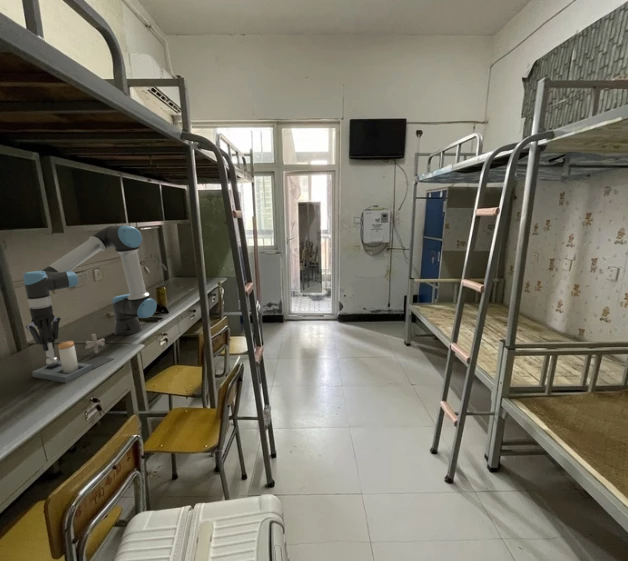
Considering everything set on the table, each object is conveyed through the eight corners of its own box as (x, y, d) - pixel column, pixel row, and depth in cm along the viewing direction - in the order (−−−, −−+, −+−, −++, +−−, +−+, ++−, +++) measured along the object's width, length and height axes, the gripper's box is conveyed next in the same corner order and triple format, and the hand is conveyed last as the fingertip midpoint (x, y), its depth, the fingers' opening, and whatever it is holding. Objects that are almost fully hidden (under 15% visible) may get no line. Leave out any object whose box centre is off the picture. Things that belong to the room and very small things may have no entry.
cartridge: (73, 370, 144) (67, 340, 141) (82, 372, 142) (76, 341, 139) (60, 376, 139) (54, 345, 136) (70, 378, 137) (63, 346, 134)
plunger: (54, 363, 145) (52, 356, 145) (60, 364, 144) (59, 357, 144) (45, 367, 142) (43, 359, 141) (51, 368, 141) (49, 360, 140)
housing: (61, 364, 150) (60, 359, 150) (92, 369, 145) (91, 364, 144) (33, 376, 139) (32, 371, 139) (66, 382, 133) (65, 377, 133)
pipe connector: (96, 357, 157) (93, 338, 155) (80, 355, 159) (76, 337, 157) (112, 349, 167) (109, 331, 165) (97, 347, 169) (94, 330, 167)
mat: (98, 357, 158) (98, 356, 158) (113, 359, 155) (113, 358, 155) (78, 366, 148) (78, 365, 148) (94, 368, 146) (94, 367, 146)
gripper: (50, 302, 144) (59, 349, 149) (17, 310, 132) (28, 361, 137) (62, 303, 142) (71, 351, 147) (29, 311, 130) (40, 363, 135)
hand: (50, 356), depth 142 cm, fingers closed
